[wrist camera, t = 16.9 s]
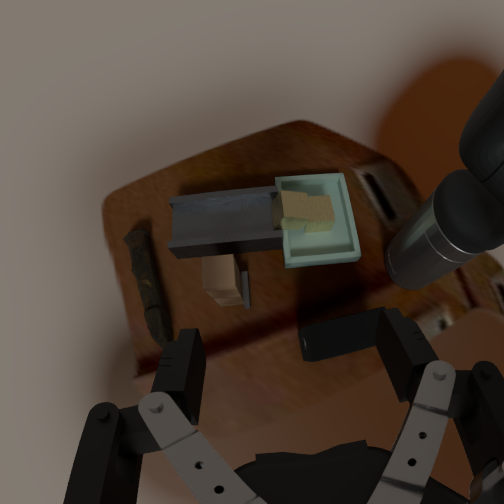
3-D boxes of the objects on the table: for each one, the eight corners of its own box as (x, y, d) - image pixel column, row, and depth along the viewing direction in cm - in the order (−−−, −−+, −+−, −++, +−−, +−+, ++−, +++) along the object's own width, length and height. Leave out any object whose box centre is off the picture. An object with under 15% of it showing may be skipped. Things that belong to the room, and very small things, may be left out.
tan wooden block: (248, 275, 46) (240, 247, 35) (251, 308, 44) (243, 290, 33) (219, 278, 46) (201, 251, 35) (221, 310, 44) (203, 294, 33)
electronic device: (297, 332, 43) (304, 325, 33) (363, 316, 43) (386, 305, 33) (303, 361, 41) (311, 362, 32) (370, 344, 41) (395, 339, 32)
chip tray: (340, 181, 50) (343, 172, 48) (356, 261, 45) (361, 255, 43) (275, 185, 50) (275, 177, 48) (284, 268, 46) (285, 263, 44)
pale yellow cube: (295, 205, 47) (307, 192, 43) (299, 230, 45) (311, 218, 42) (270, 203, 46) (280, 190, 42) (273, 229, 44) (284, 216, 41)
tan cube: (301, 209, 48) (326, 207, 48) (304, 233, 47) (330, 230, 47) (303, 197, 44) (330, 194, 44) (307, 222, 43) (335, 219, 43)
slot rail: (277, 201, 49) (277, 185, 45) (282, 249, 47) (283, 236, 42) (178, 212, 50) (169, 197, 45) (177, 258, 47) (167, 247, 43)
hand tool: (130, 242, 49) (118, 232, 45) (151, 234, 49) (141, 223, 45) (156, 356, 43) (143, 356, 39) (180, 349, 43) (170, 348, 39)
